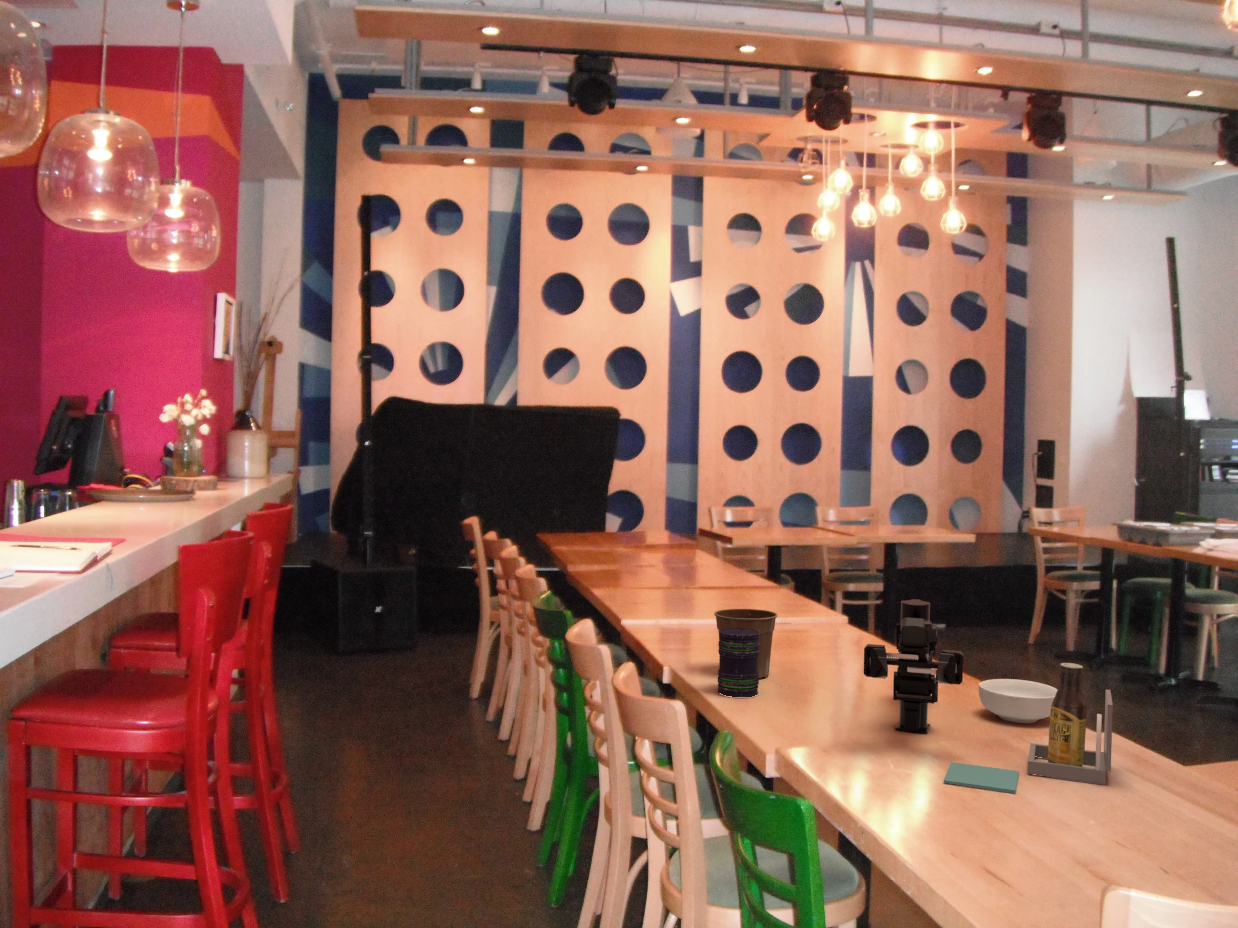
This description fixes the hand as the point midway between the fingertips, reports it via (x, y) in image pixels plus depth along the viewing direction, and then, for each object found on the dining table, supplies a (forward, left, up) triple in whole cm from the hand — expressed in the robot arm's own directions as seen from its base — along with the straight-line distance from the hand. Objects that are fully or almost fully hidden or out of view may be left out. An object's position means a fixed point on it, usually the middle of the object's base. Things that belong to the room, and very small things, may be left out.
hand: (911, 675), depth 198 cm
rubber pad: (+4, +13, -17) cm, 22 cm away
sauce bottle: (-9, +27, -17) cm, 33 cm away
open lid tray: (-9, +27, -17) cm, 33 cm away
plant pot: (-58, -50, -17) cm, 78 cm away
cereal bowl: (-45, +17, -17) cm, 51 cm away
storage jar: (-38, -45, -17) cm, 62 cm away
